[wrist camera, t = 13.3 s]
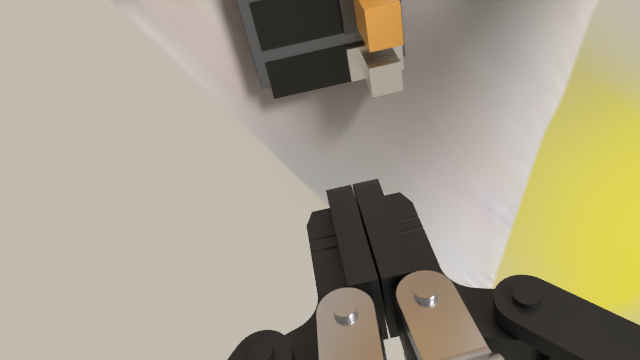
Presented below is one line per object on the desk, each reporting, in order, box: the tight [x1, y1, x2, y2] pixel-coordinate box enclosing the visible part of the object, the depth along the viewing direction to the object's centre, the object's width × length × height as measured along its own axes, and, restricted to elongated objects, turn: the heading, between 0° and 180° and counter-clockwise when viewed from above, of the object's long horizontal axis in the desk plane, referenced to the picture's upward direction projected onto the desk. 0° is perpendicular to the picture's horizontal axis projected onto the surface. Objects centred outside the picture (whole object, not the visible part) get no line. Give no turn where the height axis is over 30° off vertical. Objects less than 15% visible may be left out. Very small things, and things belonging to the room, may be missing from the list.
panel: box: [237, 0, 405, 99], centre depth 37 cm, size 12×12×6 cm
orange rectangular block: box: [339, 0, 404, 52], centre depth 36 cm, size 4×4×5 cm
